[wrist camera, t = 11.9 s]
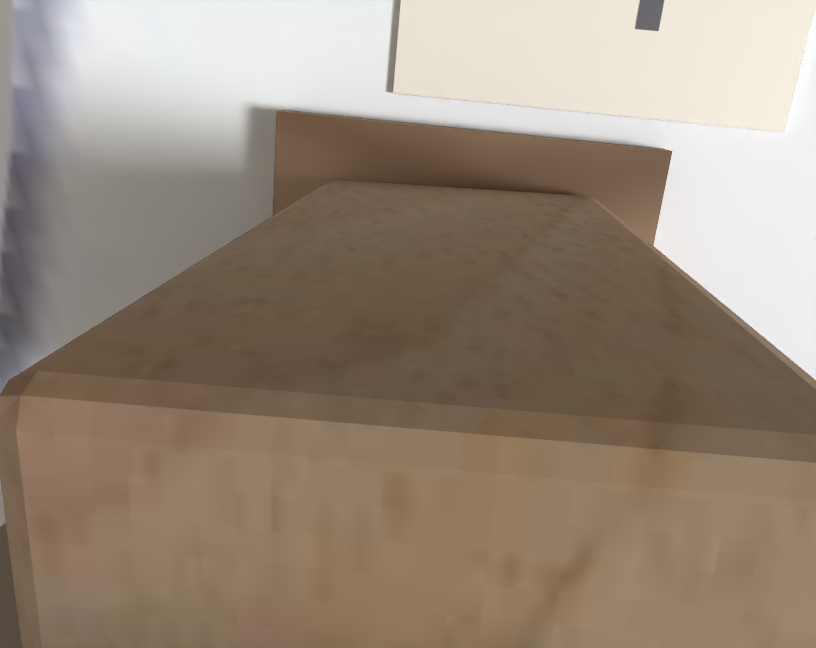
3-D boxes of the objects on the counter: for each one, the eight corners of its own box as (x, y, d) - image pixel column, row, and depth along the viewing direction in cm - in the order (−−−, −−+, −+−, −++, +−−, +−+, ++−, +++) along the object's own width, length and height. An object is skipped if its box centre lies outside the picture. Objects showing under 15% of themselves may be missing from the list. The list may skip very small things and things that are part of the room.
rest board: (284, 110, 27) (276, 111, 26) (663, 148, 27) (672, 151, 25) (270, 446, 32) (263, 459, 30) (596, 486, 31) (601, 502, 30)
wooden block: (319, 426, 30) (54, 1015, 11) (324, 177, 27) (-36, 383, 8) (567, 447, 29) (751, 1111, 10) (601, 195, 26) (955, 466, 7)
